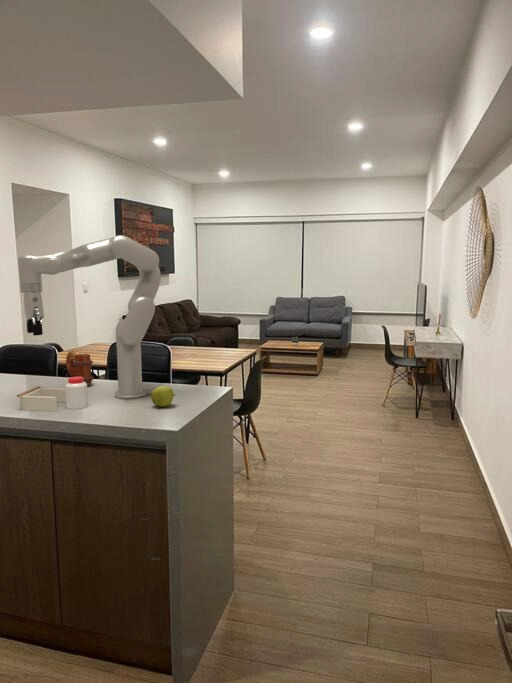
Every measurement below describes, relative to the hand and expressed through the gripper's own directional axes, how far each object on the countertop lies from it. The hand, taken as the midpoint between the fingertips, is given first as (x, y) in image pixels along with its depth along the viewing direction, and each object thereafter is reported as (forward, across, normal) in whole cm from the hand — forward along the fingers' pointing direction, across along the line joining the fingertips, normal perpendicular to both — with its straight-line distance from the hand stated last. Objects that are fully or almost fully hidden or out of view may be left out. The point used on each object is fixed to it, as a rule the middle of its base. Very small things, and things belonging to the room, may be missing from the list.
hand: (34, 333), depth 192 cm
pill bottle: (+28, -13, -10) cm, 32 cm away
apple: (+28, -32, -37) cm, 56 cm away
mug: (+28, +23, -22) cm, 42 cm away
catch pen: (+27, -4, -1) cm, 28 cm away
